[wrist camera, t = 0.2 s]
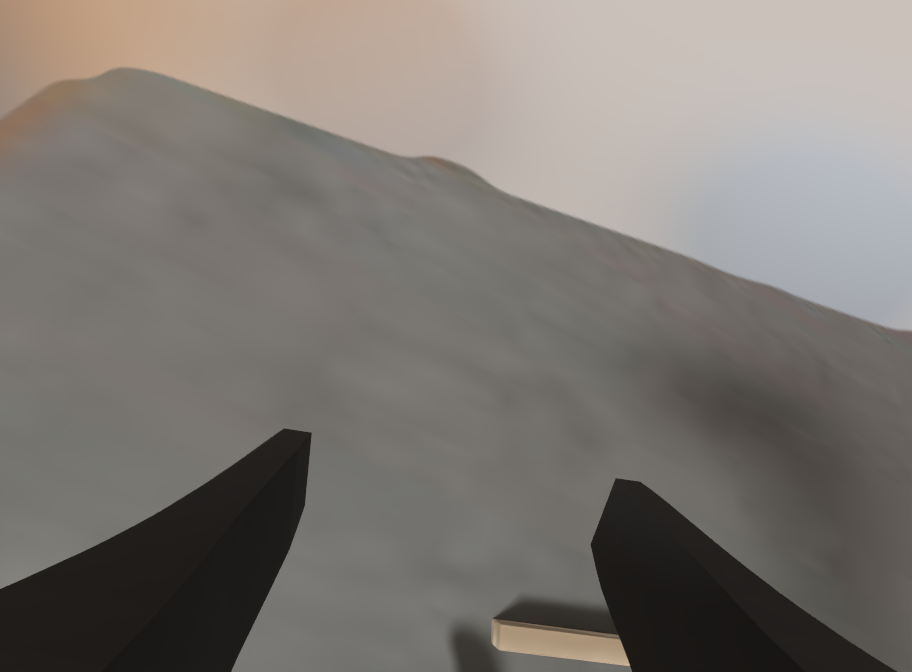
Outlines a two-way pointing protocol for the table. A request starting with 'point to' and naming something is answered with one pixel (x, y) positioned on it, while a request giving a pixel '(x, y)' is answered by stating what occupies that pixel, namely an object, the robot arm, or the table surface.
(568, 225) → the table surface
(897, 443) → the table surface
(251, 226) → the table surface
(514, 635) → the wooden matchsticks
